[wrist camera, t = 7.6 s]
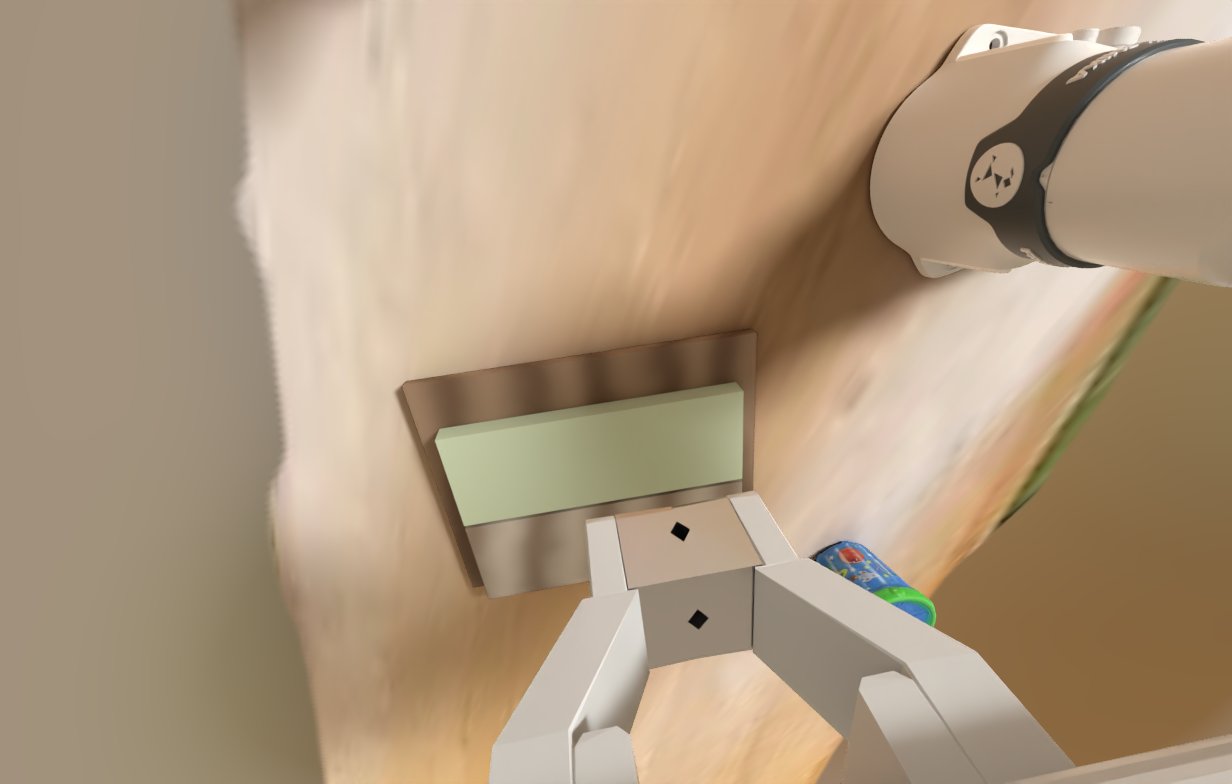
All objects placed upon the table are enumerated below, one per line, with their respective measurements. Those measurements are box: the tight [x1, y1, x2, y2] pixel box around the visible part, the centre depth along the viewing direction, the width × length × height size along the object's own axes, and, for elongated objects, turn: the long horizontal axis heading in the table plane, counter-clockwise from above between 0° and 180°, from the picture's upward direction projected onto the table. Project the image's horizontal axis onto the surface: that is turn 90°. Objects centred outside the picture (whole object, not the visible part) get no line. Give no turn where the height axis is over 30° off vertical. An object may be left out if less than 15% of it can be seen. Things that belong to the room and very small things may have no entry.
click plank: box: [435, 382, 744, 526], centre depth 45 cm, size 28×10×2 cm, turn 97°
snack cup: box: [816, 541, 936, 627], centre depth 55 cm, size 16×10×10 cm
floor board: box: [402, 329, 757, 599], centre depth 47 cm, size 32×25×3 cm
